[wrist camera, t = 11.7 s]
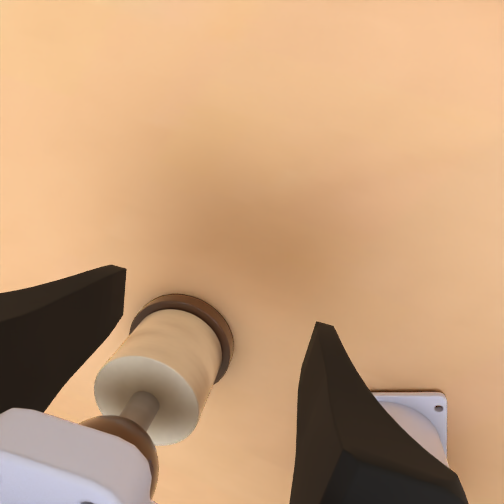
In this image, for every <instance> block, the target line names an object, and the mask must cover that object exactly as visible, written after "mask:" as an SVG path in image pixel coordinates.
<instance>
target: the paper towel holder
mask: <svg viewBox="0 0 504 504" xmlns="http://www.w3.org/2000/svg"><path fill="white" fill-rule="evenodd" d="M232 355H233V338H232V334H231V331H230V329H229V327H228V325H227V323H226V321H225V320H224V319H223V317H222V316H221V315H220V314H219V313H218V312H217V311H216V310H215V309H214V308H213V307H211V306H210V305H209V304H207V303H205V302H204V301H202V300H199V299H197V298H194V297H191V296H187V295H180V294H171V295H164V296H161V297H158V298H156V299H154V300H152V301H151V302H149V303H148V304H147V305H146V306H144V308H143V309H142V310H141V311H140V312H139V313H138V314H137V316H136V317H135V318H134V320H133V322H132V325H131V328H130V333H129V337H128V338H127V339H126V340H125V341H124V343H123V344H122V345H121V346H120V347H119V348H118V350H117V351H116V352H115V353H114V354H113V355H112V357H111V358H110V359H109V360H108V361H107V363H106V364H105V365H104V366H103V367H102V368H101V370H100V371H99V373H98V375H97V377H96V380H95V385H94V394H95V399H96V403H97V405H98V407H99V410H100V411H101V413H102V415H103V416H98V417H94V418H90V419H88V420H85V421H83V422H81V423H79V424H80V425H83V426H86V427H90V428H93V429H96V430H99V431H102V432H105V433H108V434H112V435H115V436H118V437H120V438H122V439H123V440H125V441H127V442H129V443H131V444H133V445H135V446H136V447H137V449H138V450H139V451H140V452H141V453H142V454H143V455H144V457H145V458H146V459H147V461H148V463H149V467H150V472H151V476H152V480H151V487H150V500H152V498H153V495H154V492H155V489H156V485H157V481H158V472H159V464H158V456H157V452H156V448H155V445H157V446H163V445H171V444H174V443H178V442H180V441H182V440H184V439H185V438H187V437H188V436H189V435H190V434H191V433H192V432H193V430H194V429H195V427H196V425H197V423H198V421H199V418H200V416H201V413H202V411H203V408H204V406H205V403H206V401H207V398H208V396H209V393H210V391H211V388H212V386H213V385H214V384H215V383H217V382H218V381H219V380H220V379H221V378H222V377H223V376H224V374H225V373H226V371H227V369H228V367H229V364H230V361H231V358H232Z"/></svg>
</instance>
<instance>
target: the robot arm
mask: <svg viewBox="0 0 504 504" xmlns="http://www.w3.org/2000/svg"><path fill="white" fill-rule="evenodd" d="M125 282H126V269H125V268H121V267H118V266H114V265H108V266H103V267H100V268H96V269H93V270H90V271H86V272H83V273H80V274H77V275H74V276H70V277H67V278H64V279H60V280H57V281H53V282H49V283H46V284H42V285H38V286H34V287H30V288H26V289H21V290H16V291H11V292H5V293H0V504H157V503H156V502H154V501H152V500H150V487H151V480H152V476H151V472H150V467H149V463H148V461H147V459H146V458H145V457H144V455H143V454H142V453H141V452H140V451H139V450H138V449H137V447H136V446H135V445H133V444H131V443H129V442H127V441H125V440H123V439H122V438H120V437H118V436H115V435H112V434H108V433H105V432H102V431H99V430H96V429H93V428H90V427H86V426H83V425H80V424H77V423H74V422H71V421H68V420H64V419H61V418H58V417H55V416H52V415H49V414H46V413H44V411H45V410H46V409H47V407H48V406H49V405H50V403H51V402H52V401H53V399H54V398H55V397H56V395H57V394H58V392H59V391H60V390H61V388H62V387H63V386H64V385H65V384H66V382H67V381H68V380H69V379H70V378H71V377H72V376H73V375H74V373H75V372H76V371H77V370H78V369H79V368H80V367H81V366H82V365H83V364H84V363H85V361H86V360H87V359H88V358H89V357H90V356H91V355H92V354H93V353H94V352H95V351H96V350H97V348H98V347H99V346H100V345H101V344H102V343H103V342H104V341H105V339H106V338H107V337H108V336H109V335H110V333H111V332H112V331H113V329H114V328H115V326H116V325H117V323H118V322H119V320H120V319H121V317H122V316H123V308H124V295H125ZM437 405H440V407H435V406H437ZM290 504H468V501H467V498H466V495H465V492H464V490H463V487H462V485H461V483H460V480H459V478H458V476H457V474H456V473H454V472H453V471H452V470H451V469H450V468H449V465H448V462H447V399H446V396H445V395H444V394H443V393H441V392H371V391H370V390H369V389H368V387H367V386H366V385H365V383H364V382H363V380H362V379H361V377H360V375H359V374H358V372H357V371H356V369H355V367H354V365H353V364H352V362H351V360H350V358H349V357H348V355H347V353H346V351H345V349H344V347H343V345H342V343H341V341H340V339H339V336H338V334H337V332H336V330H335V328H334V326H331V325H328V324H324V323H320V322H317V321H316V324H315V327H314V330H313V333H312V336H311V339H310V342H309V346H308V349H307V352H306V355H305V358H304V361H303V364H302V368H301V374H300V380H299V387H298V403H297V437H296V457H295V467H294V474H293V482H292V489H291V497H290Z"/></svg>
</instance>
